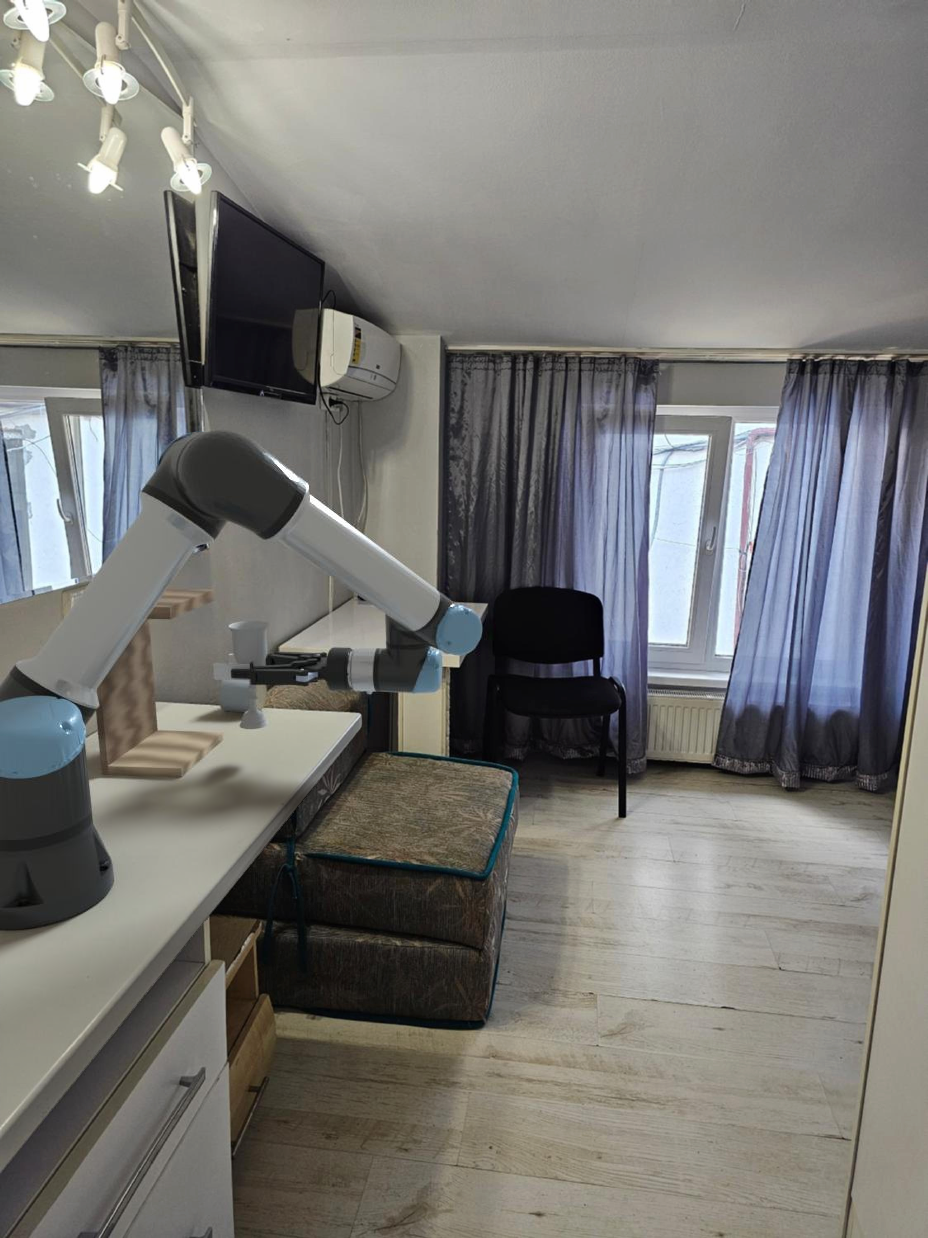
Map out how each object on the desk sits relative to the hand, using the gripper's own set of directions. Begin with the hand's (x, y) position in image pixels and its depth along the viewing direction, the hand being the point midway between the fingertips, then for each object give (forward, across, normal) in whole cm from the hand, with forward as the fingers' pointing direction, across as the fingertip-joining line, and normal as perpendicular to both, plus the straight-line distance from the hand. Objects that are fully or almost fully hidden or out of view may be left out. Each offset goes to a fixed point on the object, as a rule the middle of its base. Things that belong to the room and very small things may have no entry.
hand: (222, 666), depth 134 cm
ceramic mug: (+7, +28, -17) cm, 33 cm away
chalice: (-5, 0, -11) cm, 12 cm away
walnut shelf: (+11, 0, -17) cm, 20 cm away
